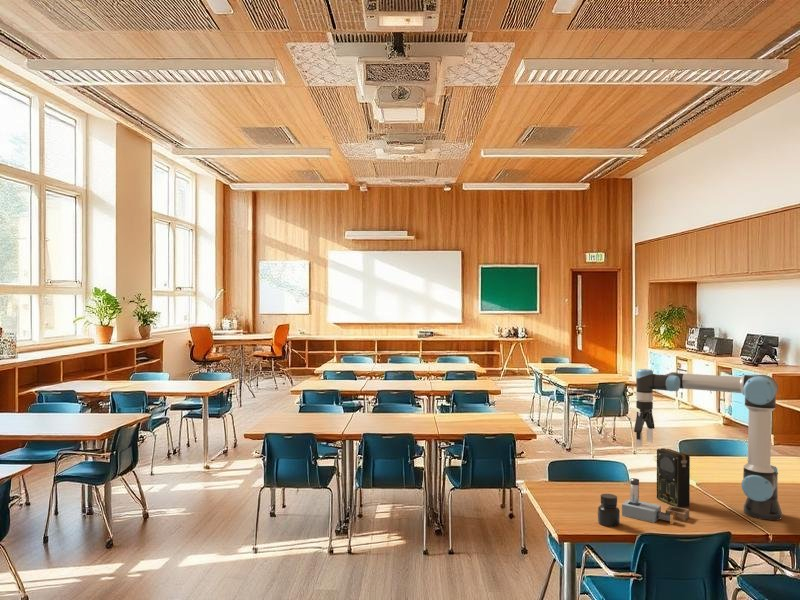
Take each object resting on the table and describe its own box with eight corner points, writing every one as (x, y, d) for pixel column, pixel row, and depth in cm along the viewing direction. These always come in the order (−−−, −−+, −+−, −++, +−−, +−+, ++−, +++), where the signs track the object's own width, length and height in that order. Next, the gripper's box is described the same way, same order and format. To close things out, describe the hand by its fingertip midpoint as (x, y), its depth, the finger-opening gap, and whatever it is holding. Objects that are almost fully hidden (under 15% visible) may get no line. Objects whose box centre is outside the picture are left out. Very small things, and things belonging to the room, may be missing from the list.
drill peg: (640, 514, 268) (640, 479, 268) (637, 516, 265) (637, 481, 265) (631, 512, 270) (631, 477, 270) (629, 514, 267) (629, 479, 267)
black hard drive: (654, 498, 290) (654, 448, 291) (668, 497, 293) (668, 447, 293) (677, 509, 275) (677, 455, 276) (692, 507, 278) (692, 454, 278)
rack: (689, 517, 265) (689, 509, 265) (684, 522, 258) (684, 514, 258) (670, 513, 270) (670, 505, 270) (665, 517, 264) (665, 510, 264)
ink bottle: (615, 519, 260) (615, 492, 260) (623, 527, 251) (624, 499, 252) (594, 519, 260) (594, 492, 260) (601, 527, 251) (601, 499, 251)
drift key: (675, 521, 258) (675, 512, 258) (673, 524, 255) (673, 515, 255) (654, 517, 264) (654, 508, 264) (651, 519, 261) (651, 510, 261)
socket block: (660, 516, 265) (660, 505, 265) (654, 522, 257) (654, 511, 257) (629, 509, 274) (629, 499, 274) (621, 515, 266) (622, 504, 266)
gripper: (646, 397, 301) (646, 438, 300) (626, 402, 283) (626, 446, 282) (661, 398, 296) (661, 441, 295) (642, 404, 278) (642, 449, 277)
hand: (644, 443), depth 289 cm, fingers open, 13 cm apart
